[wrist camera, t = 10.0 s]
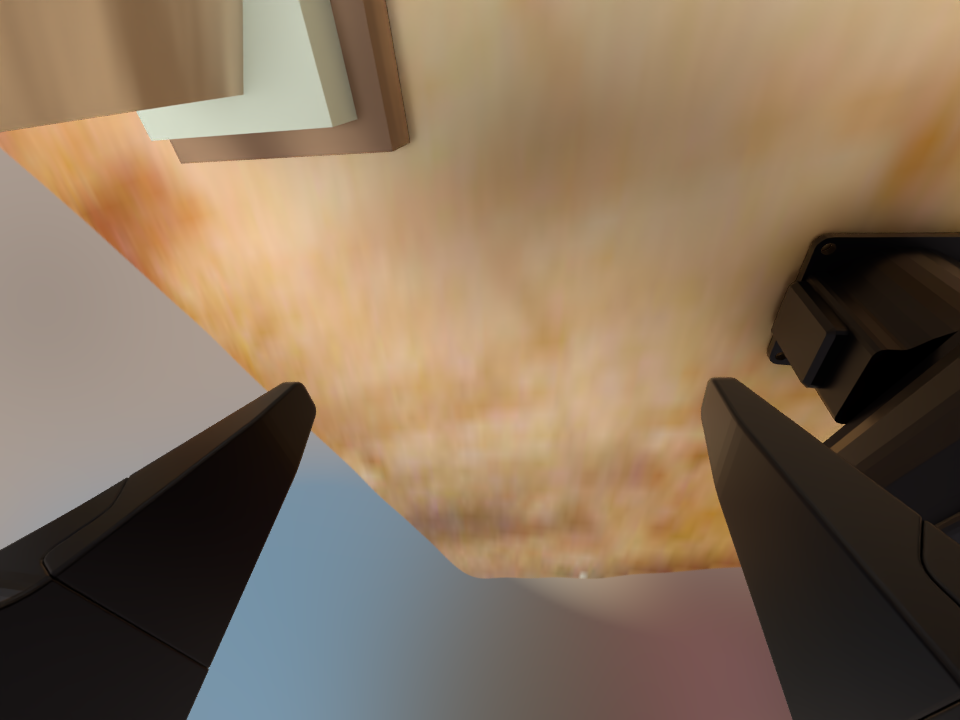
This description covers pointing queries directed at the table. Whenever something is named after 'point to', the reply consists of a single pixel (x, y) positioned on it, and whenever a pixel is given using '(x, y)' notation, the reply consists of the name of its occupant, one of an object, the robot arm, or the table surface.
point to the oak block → (114, 57)
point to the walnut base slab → (372, 93)
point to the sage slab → (272, 78)
